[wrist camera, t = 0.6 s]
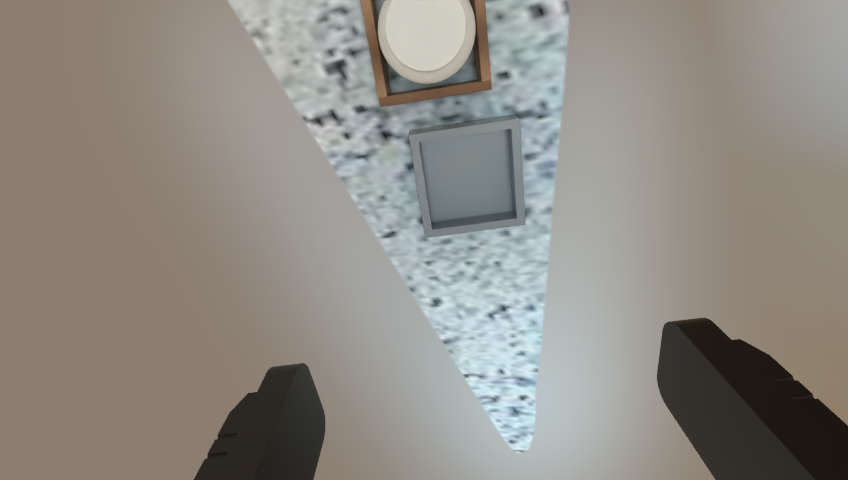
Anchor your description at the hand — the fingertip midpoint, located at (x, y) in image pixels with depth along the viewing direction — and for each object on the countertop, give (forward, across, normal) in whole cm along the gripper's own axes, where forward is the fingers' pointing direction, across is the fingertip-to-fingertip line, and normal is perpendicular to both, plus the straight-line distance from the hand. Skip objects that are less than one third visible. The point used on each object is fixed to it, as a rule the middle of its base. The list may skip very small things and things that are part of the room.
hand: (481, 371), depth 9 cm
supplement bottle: (+25, 0, -7) cm, 26 cm away
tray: (+24, -2, +3) cm, 24 cm away
